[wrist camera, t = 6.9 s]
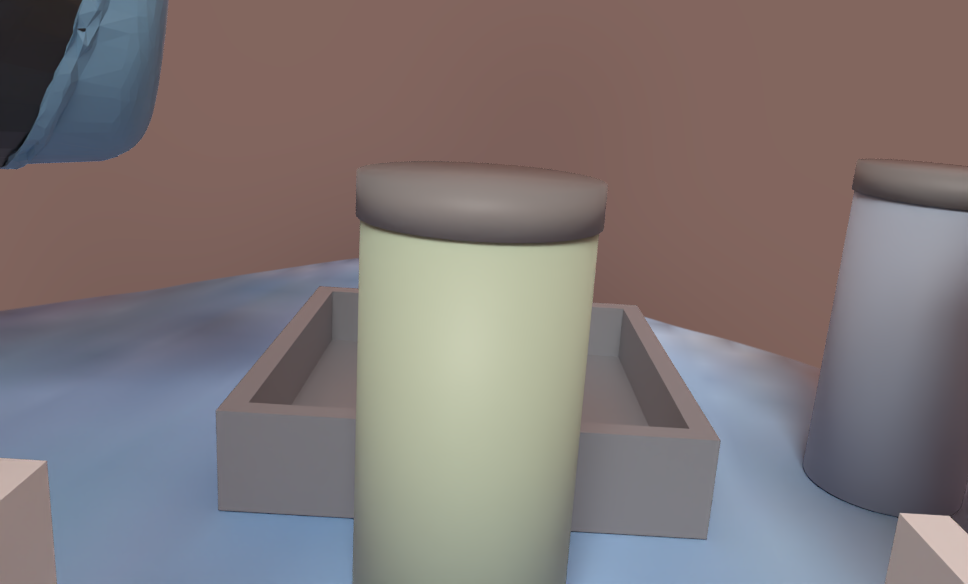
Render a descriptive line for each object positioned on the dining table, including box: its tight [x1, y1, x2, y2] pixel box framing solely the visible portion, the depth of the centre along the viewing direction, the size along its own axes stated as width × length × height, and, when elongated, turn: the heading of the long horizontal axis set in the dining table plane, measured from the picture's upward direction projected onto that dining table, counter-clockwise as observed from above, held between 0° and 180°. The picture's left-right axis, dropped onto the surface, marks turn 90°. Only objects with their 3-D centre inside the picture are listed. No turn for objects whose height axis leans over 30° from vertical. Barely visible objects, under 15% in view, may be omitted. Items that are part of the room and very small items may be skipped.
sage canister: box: [352, 161, 608, 584], centre depth 21 cm, size 6×6×12 cm
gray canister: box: [803, 159, 968, 517], centre depth 30 cm, size 6×6×12 cm
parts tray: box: [216, 286, 720, 539], centre depth 34 cm, size 16×16×4 cm
